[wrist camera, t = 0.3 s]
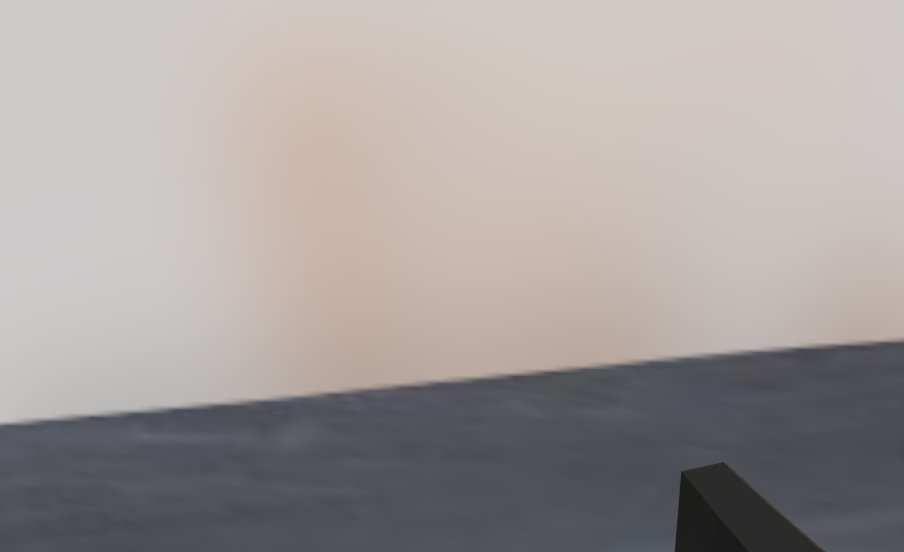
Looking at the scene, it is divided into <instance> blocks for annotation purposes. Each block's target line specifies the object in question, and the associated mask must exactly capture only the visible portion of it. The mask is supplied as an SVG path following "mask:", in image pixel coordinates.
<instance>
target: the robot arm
mask: <svg viewBox="0 0 904 552" xmlns="http://www.w3.org/2000/svg"><path fill="white" fill-rule="evenodd" d="M675 552H825V551H824V550H823V549H821V548H820V547H819V546H818V545H817V544H816V543H814V542H813V541H812V540H811V539H810V538H809V537H807V536H806V535H805V534H804V533H803V532H802V531H801V530H799V529H798V528H797V527H796V526H795V525H794V524H793V523H792V522H790V521H789V520H788V519H787V518H786V517H785V516H784V515H782V514H781V513H780V512H779V511H778V510H777V509H776V508H775V507H774V506H772V505H771V504H770V503H769V502H768V501H767V500H766V499H765V498H764V497H762V496H761V495H760V494H759V493H758V492H757V491H756V490H755V489H754V488H753V487H751V486H750V485H749V484H748V483H747V482H746V481H745V480H744V479H743V478H742V477H740V476H739V475H738V474H737V473H736V472H735V471H734V470H733V469H732V468H731V467H729V466H728V465H726V464H725V463H724V462H723V463H718V464H714V465H709V466H705V467H700V468H696V469H691V470H687V471H682V472H681V483H680V496H679V508H678V520H677V532H676V545H675Z"/></svg>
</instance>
